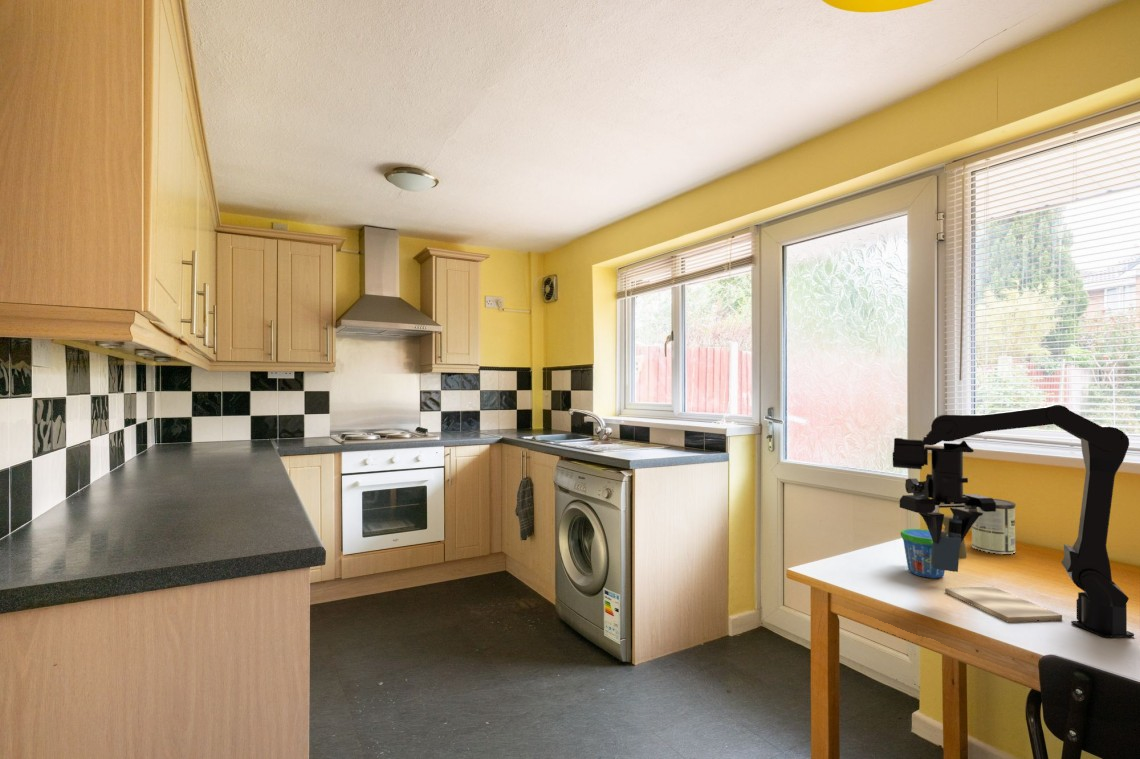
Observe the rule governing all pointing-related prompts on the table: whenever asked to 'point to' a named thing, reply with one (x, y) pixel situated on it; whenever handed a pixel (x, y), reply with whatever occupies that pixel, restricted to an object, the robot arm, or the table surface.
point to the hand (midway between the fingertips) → (947, 542)
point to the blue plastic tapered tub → (920, 553)
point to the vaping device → (948, 547)
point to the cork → (946, 523)
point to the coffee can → (995, 529)
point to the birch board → (1003, 604)
